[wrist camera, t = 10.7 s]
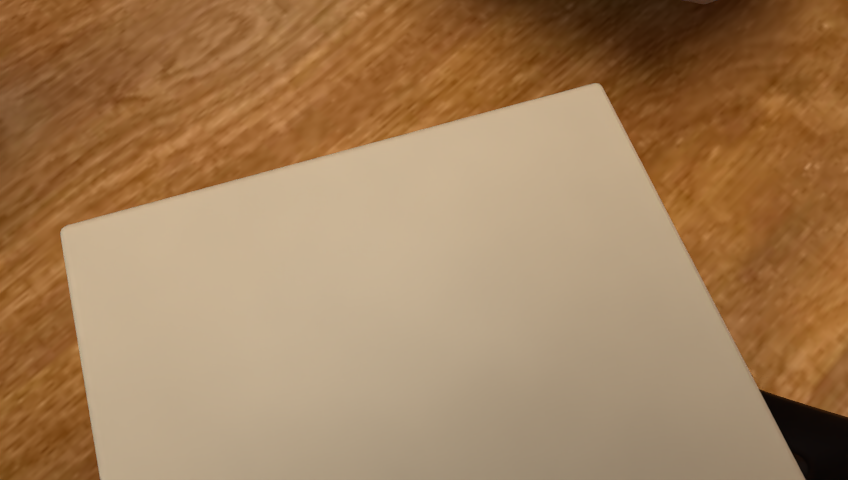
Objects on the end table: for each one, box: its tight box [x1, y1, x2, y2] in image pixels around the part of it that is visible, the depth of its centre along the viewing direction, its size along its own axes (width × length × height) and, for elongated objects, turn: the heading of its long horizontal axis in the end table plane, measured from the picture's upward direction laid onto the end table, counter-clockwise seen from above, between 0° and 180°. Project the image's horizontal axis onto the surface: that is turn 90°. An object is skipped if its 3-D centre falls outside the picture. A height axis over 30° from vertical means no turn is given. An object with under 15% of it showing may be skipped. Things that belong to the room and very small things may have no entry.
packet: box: [60, 83, 805, 480], centre depth 9 cm, size 5×4×12 cm
